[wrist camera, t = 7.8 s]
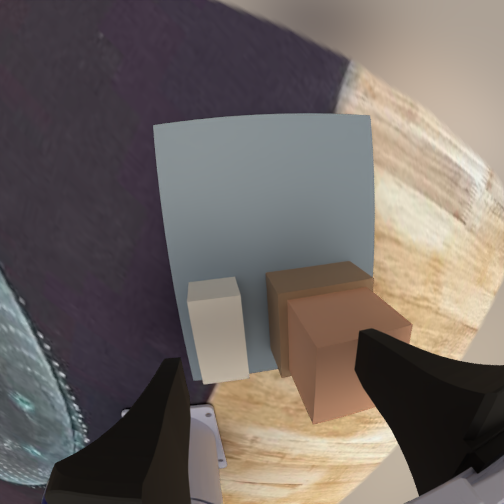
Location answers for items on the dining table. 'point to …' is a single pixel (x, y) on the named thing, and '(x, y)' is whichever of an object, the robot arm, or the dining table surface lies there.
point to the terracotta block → (335, 348)
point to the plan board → (262, 228)
